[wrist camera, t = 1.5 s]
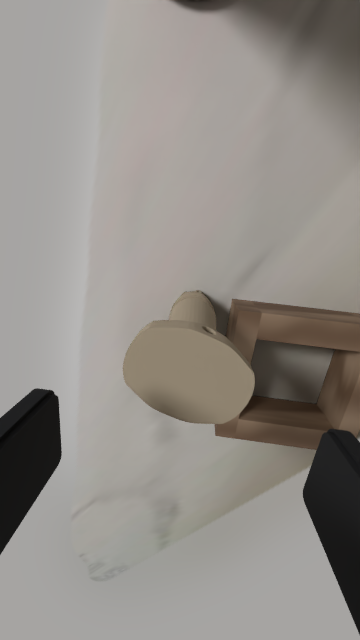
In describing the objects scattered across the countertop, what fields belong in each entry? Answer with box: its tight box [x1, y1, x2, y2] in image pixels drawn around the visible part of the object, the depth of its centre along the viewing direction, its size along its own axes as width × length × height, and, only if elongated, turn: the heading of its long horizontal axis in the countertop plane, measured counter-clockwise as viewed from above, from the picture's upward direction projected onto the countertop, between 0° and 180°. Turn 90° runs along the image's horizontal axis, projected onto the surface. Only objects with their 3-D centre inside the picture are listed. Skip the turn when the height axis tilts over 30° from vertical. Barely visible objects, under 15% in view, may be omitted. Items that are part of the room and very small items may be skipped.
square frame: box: [215, 299, 360, 450], centre depth 25 cm, size 14×14×4 cm
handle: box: [123, 290, 255, 424], centre depth 19 cm, size 5×6×15 cm
